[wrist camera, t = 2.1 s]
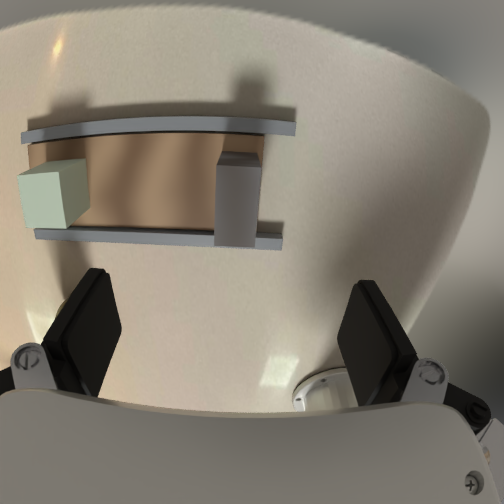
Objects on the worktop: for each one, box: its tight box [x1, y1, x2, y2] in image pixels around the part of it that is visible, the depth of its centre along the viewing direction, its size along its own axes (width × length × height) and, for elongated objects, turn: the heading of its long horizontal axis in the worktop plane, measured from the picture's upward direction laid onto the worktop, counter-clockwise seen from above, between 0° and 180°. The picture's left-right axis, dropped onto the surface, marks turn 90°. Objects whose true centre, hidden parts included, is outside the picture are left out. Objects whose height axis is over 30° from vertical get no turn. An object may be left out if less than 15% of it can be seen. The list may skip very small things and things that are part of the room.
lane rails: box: [21, 116, 296, 250], centre depth 26 cm, size 27×12×1 cm, turn 86°
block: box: [17, 158, 90, 229], centre depth 23 cm, size 5×5×5 cm
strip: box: [28, 132, 264, 248], centre depth 23 cm, size 24×9×7 cm, turn 86°
